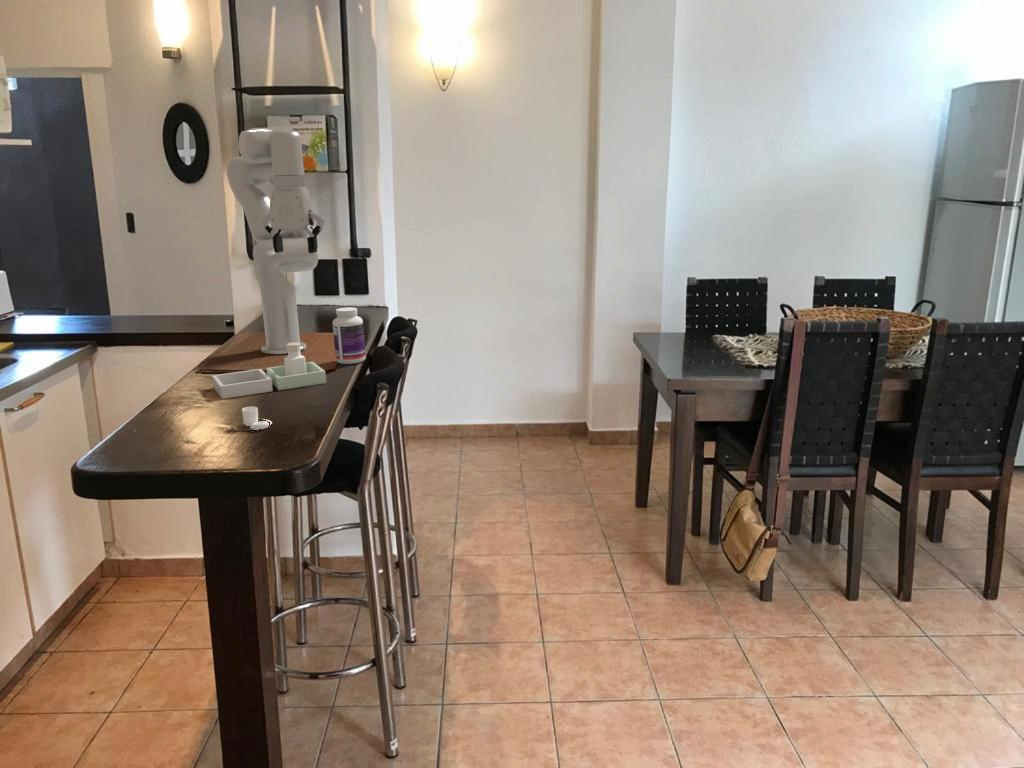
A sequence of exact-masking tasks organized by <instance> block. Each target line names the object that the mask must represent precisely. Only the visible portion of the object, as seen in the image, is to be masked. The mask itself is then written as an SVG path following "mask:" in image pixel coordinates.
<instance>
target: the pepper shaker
mask: <svg viewBox="0 0 1024 768" xmlns="http://www.w3.org/2000/svg"><path fill="white" fill-rule="evenodd" d="M286 346H287V352H288V354H287V356H285V357H284V358H283V361H284V362H283V363H284V365H285V372H286V376H290V375H297V374H304V373H307V372H306V362H307V361H306V357H305V356H304V355H303V354H302V355H301V349H300V343H297V342H295V343H288V344H286Z"/></svg>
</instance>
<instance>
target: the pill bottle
mask: <svg viewBox="0 0 1024 768" xmlns="http://www.w3.org/2000/svg"><path fill="white" fill-rule="evenodd" d="M335 314H336V316H337V317H335V318H334V319H333V321H332V331H333V332H332V333H333V334H332V335H333V341H334V342H333V343H334V353H335V360H336V362H337V363H338V364H340V365H341V364H342V365H354V364H360V363H362V362H364V361H365V360H366V359H367V358H366V357H367V353H366V341H365V332H364V321H363V319H362V317H360V316H358V308H356V307H349V306H348V307H340V308H337V309H335Z"/></svg>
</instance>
